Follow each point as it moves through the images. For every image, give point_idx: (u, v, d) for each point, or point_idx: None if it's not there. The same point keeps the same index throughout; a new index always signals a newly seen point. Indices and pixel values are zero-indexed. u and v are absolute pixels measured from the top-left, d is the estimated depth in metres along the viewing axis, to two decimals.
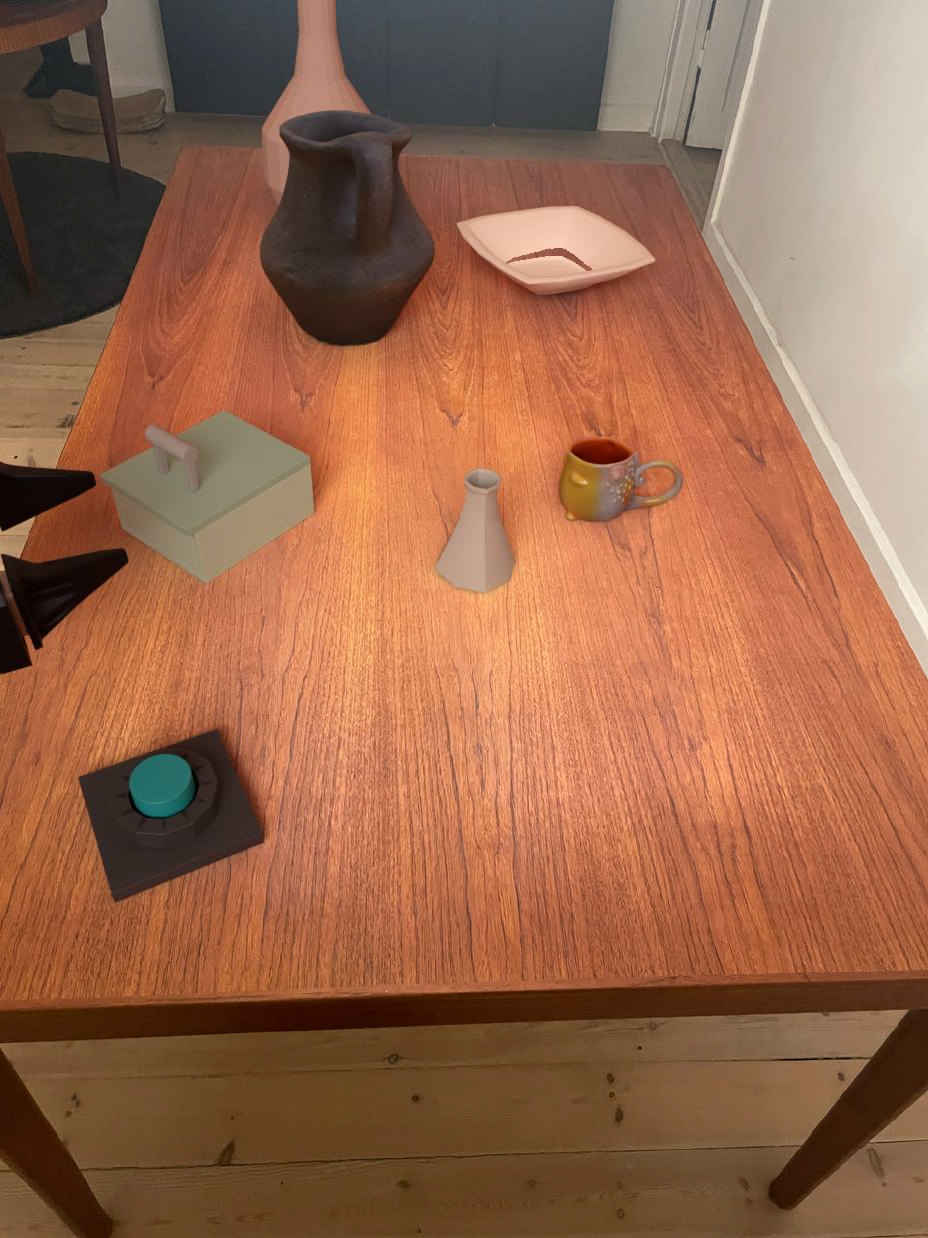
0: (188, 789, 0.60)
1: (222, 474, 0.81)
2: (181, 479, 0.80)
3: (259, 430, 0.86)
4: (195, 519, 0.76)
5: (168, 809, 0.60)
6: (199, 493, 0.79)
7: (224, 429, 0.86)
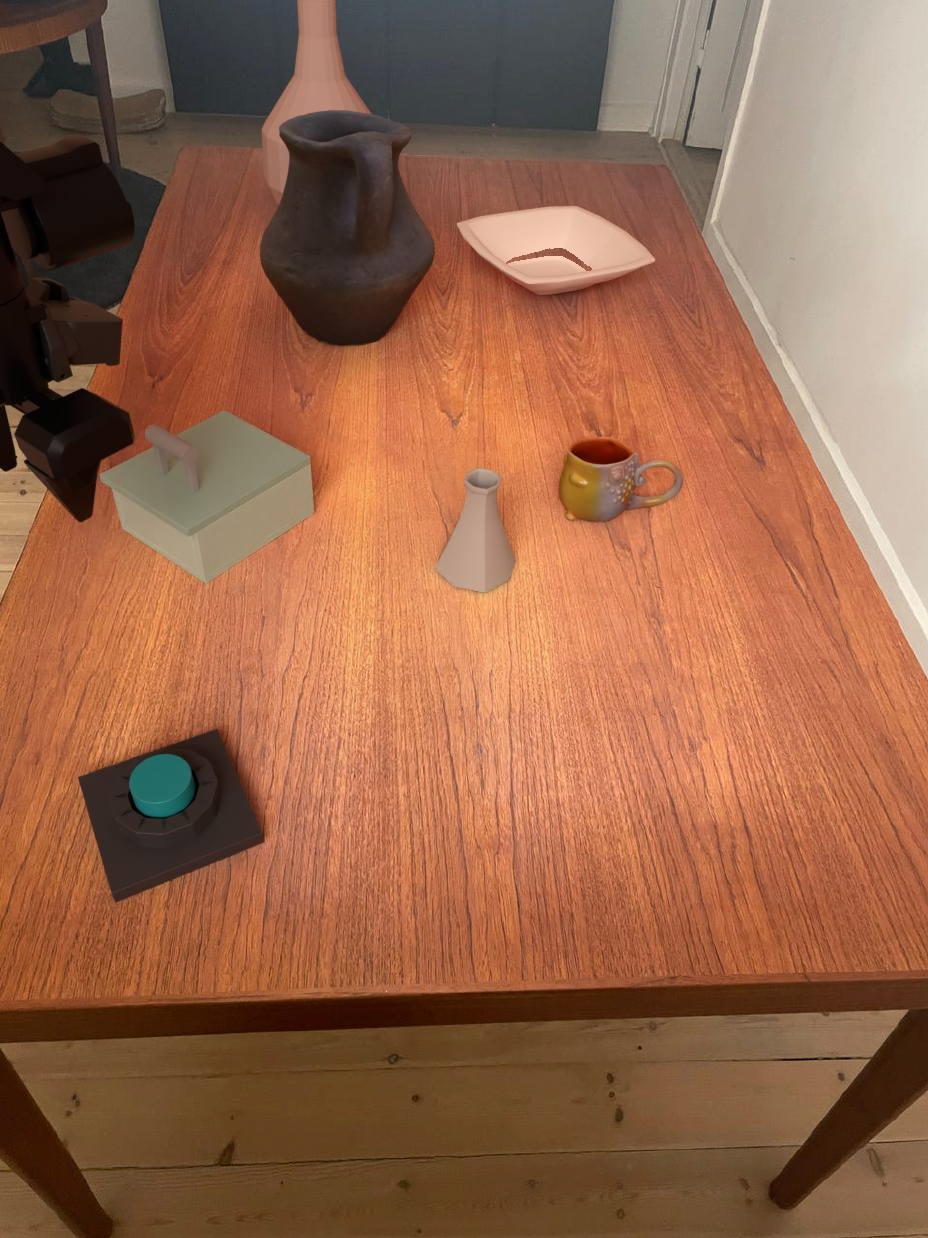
0: (188, 789, 0.60)
1: (222, 474, 0.81)
2: (181, 479, 0.80)
3: (259, 430, 0.86)
4: (195, 519, 0.76)
5: (168, 809, 0.60)
6: (199, 493, 0.79)
7: (224, 429, 0.86)
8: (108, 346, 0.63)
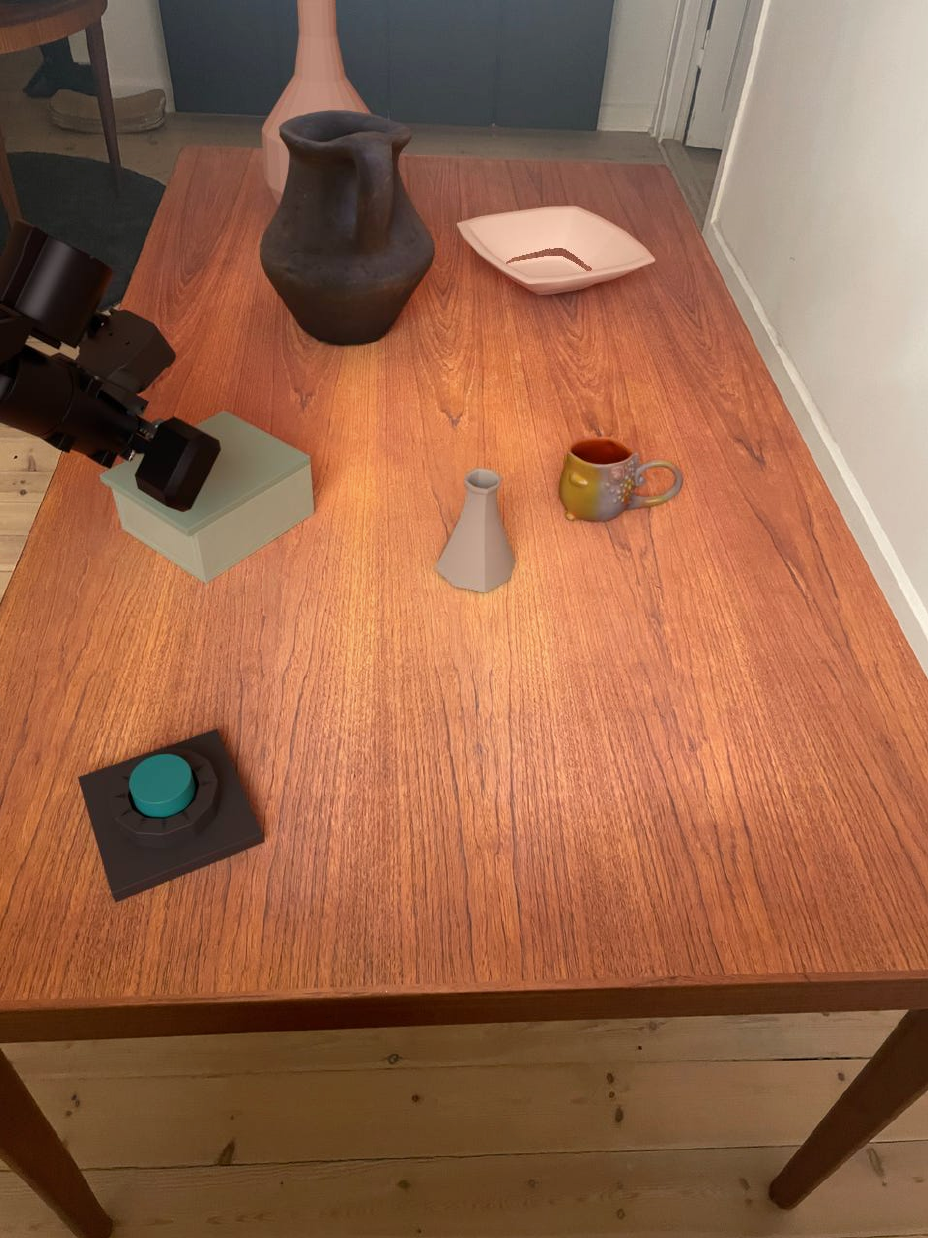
0: (188, 789, 0.60)
1: (222, 474, 0.81)
2: None
3: (259, 430, 0.86)
4: (195, 519, 0.76)
5: (168, 809, 0.60)
6: (199, 493, 0.79)
7: (224, 429, 0.86)
8: (159, 356, 0.69)
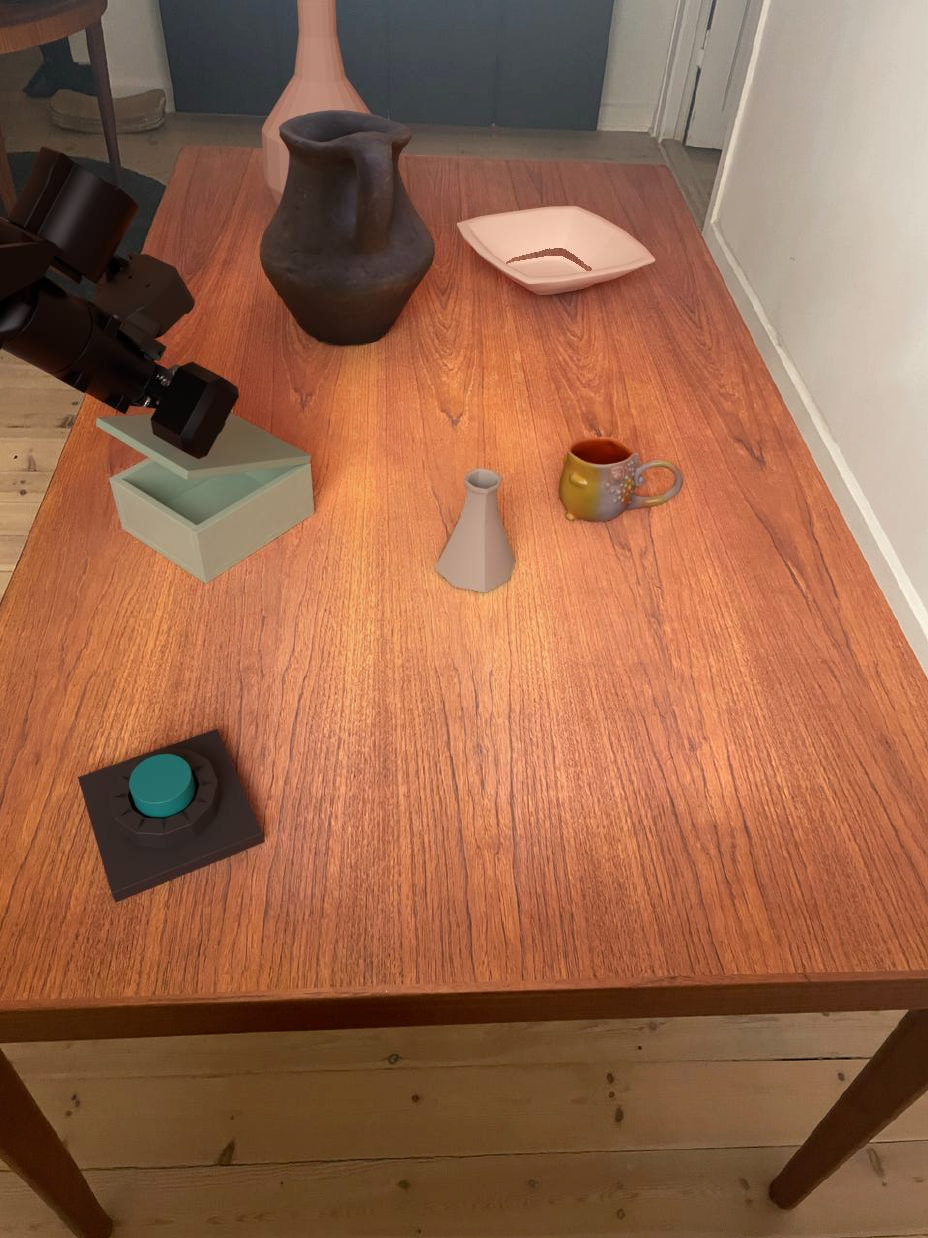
0: (188, 789, 0.60)
1: (224, 446, 0.79)
2: None
3: (260, 429, 0.86)
4: (197, 466, 0.73)
5: (168, 809, 0.60)
6: None
7: (226, 420, 0.85)
8: (178, 301, 0.68)
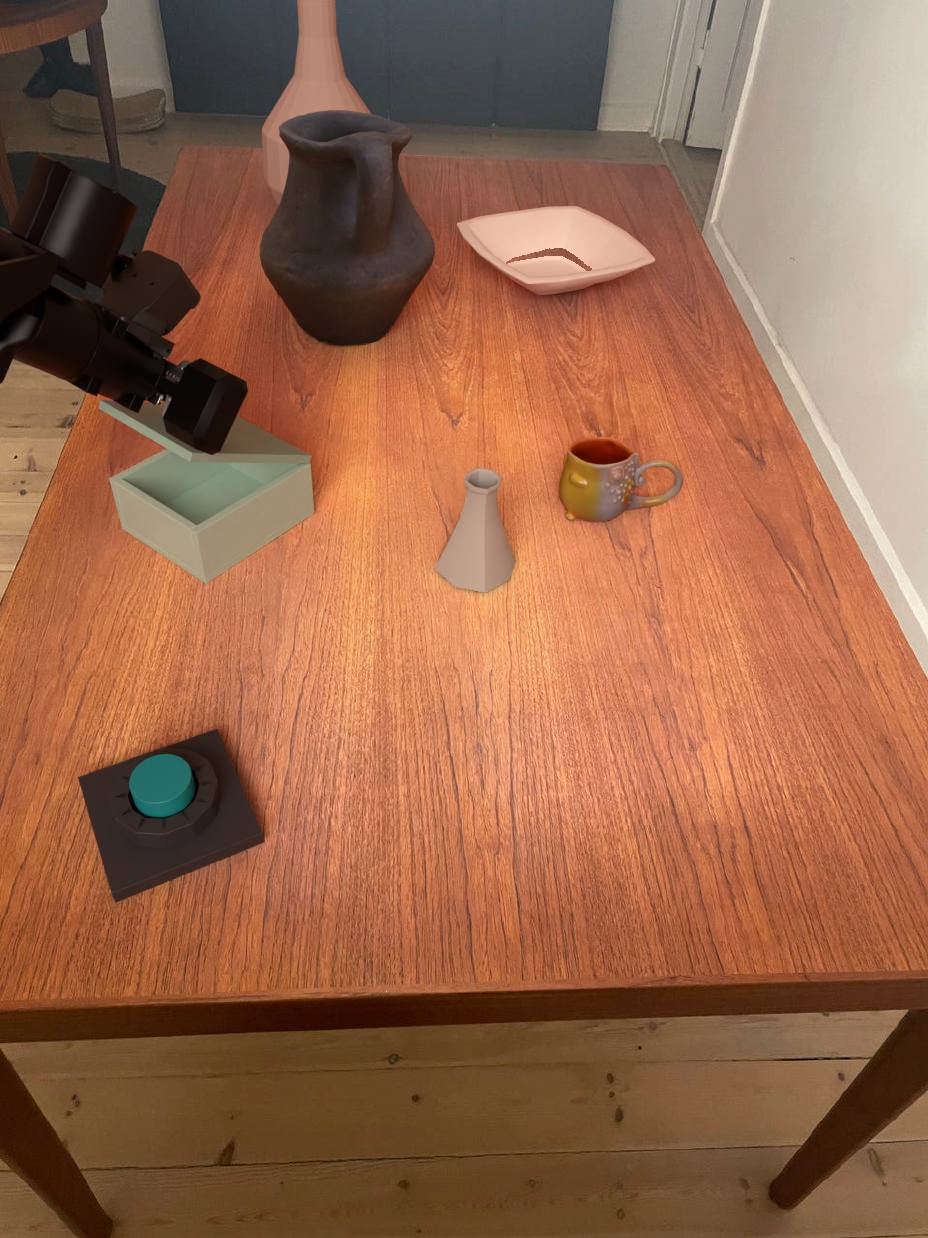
0: (188, 789, 0.60)
1: None
2: None
3: (261, 429, 0.86)
4: None
5: (168, 809, 0.60)
6: None
7: None
8: (184, 297, 0.68)
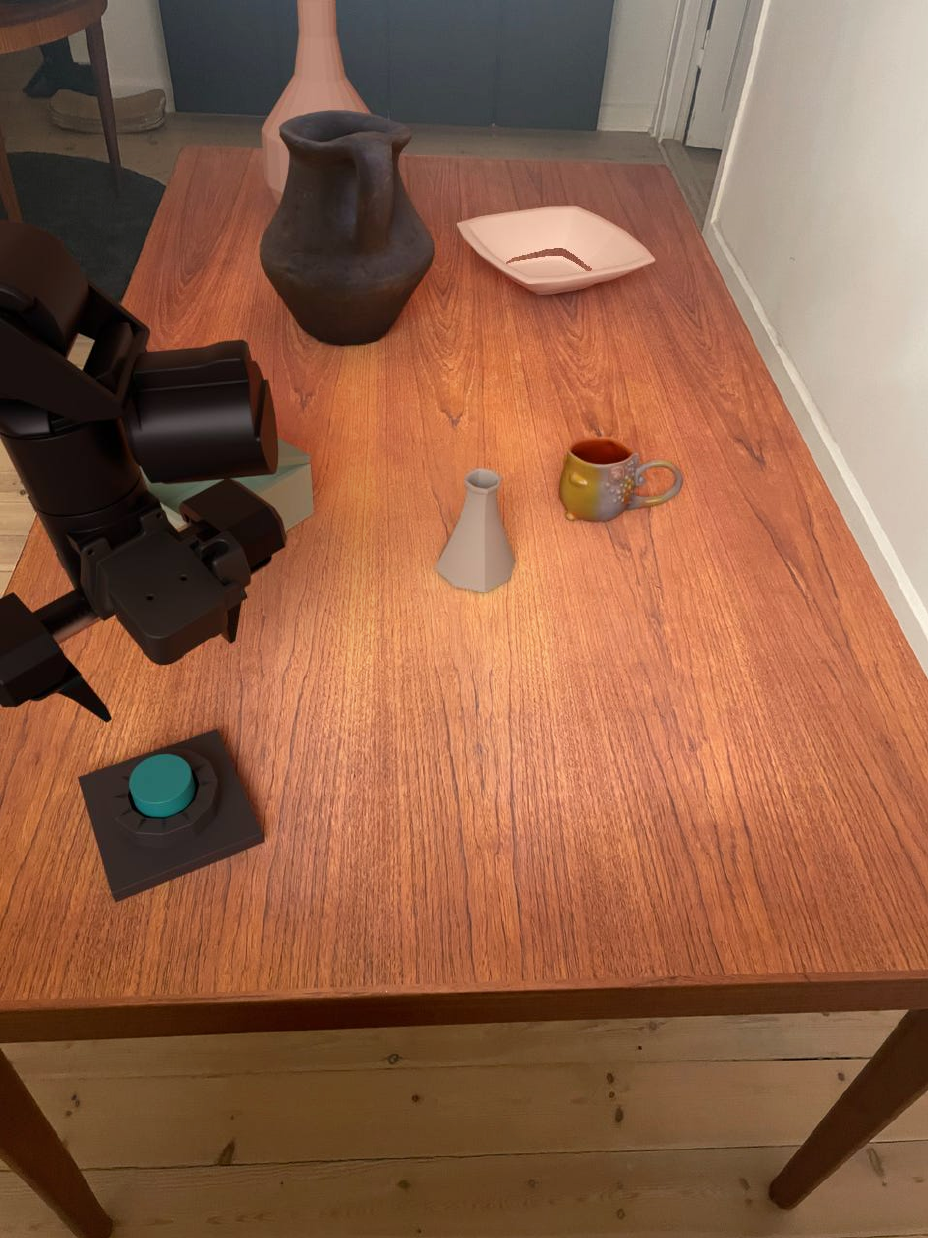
0: (188, 789, 0.60)
1: None
2: None
3: None
4: None
5: (168, 809, 0.60)
6: None
7: None
8: (139, 639, 0.47)
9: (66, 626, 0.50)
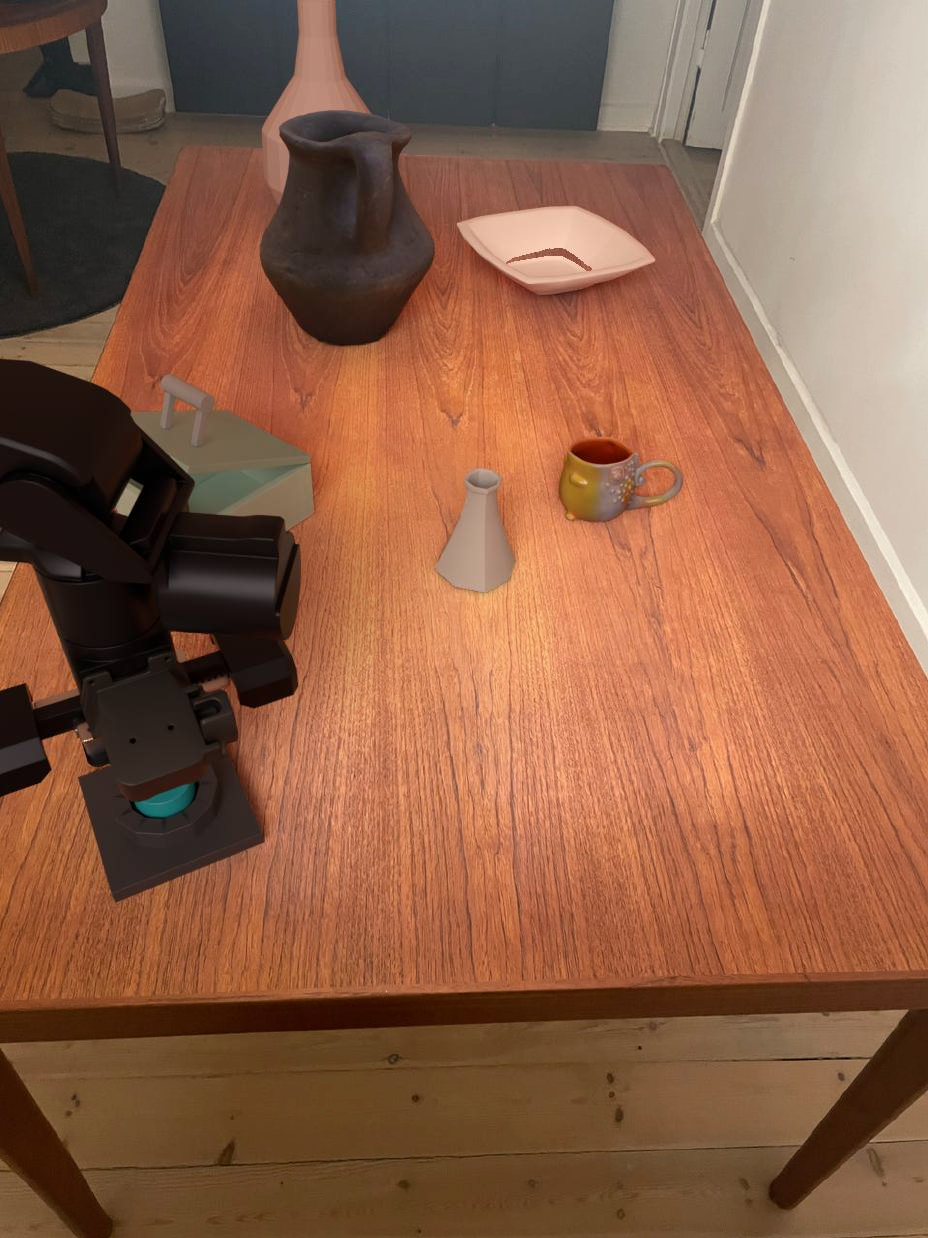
0: (189, 790, 0.60)
1: (224, 443, 0.79)
2: (182, 436, 0.78)
3: (260, 429, 0.86)
4: (198, 462, 0.73)
5: (168, 810, 0.60)
6: (201, 448, 0.76)
7: (226, 419, 0.85)
8: None
9: None
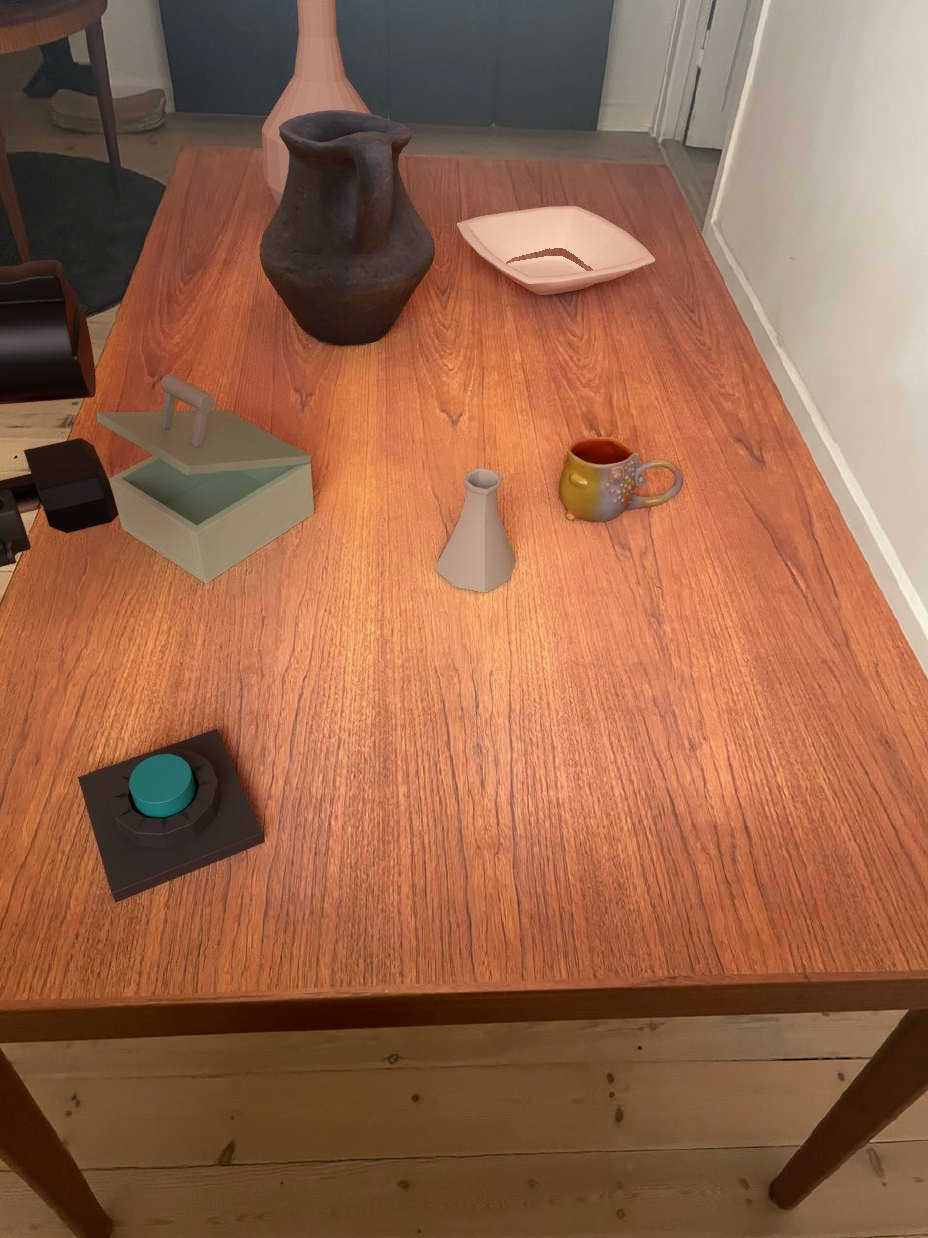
0: (188, 789, 0.60)
1: (224, 443, 0.79)
2: (182, 436, 0.78)
3: (260, 429, 0.86)
4: (198, 462, 0.73)
5: (168, 809, 0.60)
6: (201, 448, 0.76)
7: (226, 419, 0.85)
8: None
9: None
